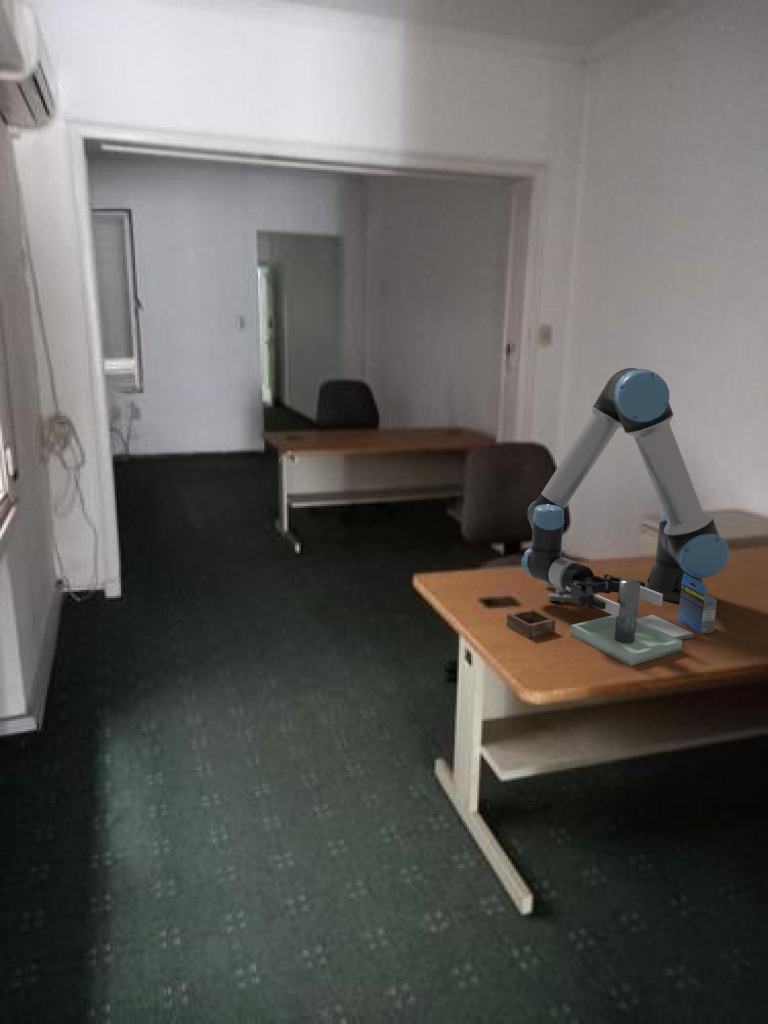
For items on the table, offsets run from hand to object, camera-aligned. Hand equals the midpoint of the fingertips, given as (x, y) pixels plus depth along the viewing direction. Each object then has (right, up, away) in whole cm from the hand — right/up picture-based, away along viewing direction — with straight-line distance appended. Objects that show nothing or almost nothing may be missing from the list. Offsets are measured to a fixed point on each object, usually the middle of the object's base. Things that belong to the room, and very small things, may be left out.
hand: (640, 605), depth 154 cm
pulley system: (-4, -1, +40) cm, 41 cm away
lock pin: (-2, -8, +5) cm, 10 cm away
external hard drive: (+9, -8, +13) cm, 18 cm away
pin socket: (-22, -7, +12) cm, 26 cm away
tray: (-2, -9, +5) cm, 11 cm away
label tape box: (+19, -7, +15) cm, 25 cm away
